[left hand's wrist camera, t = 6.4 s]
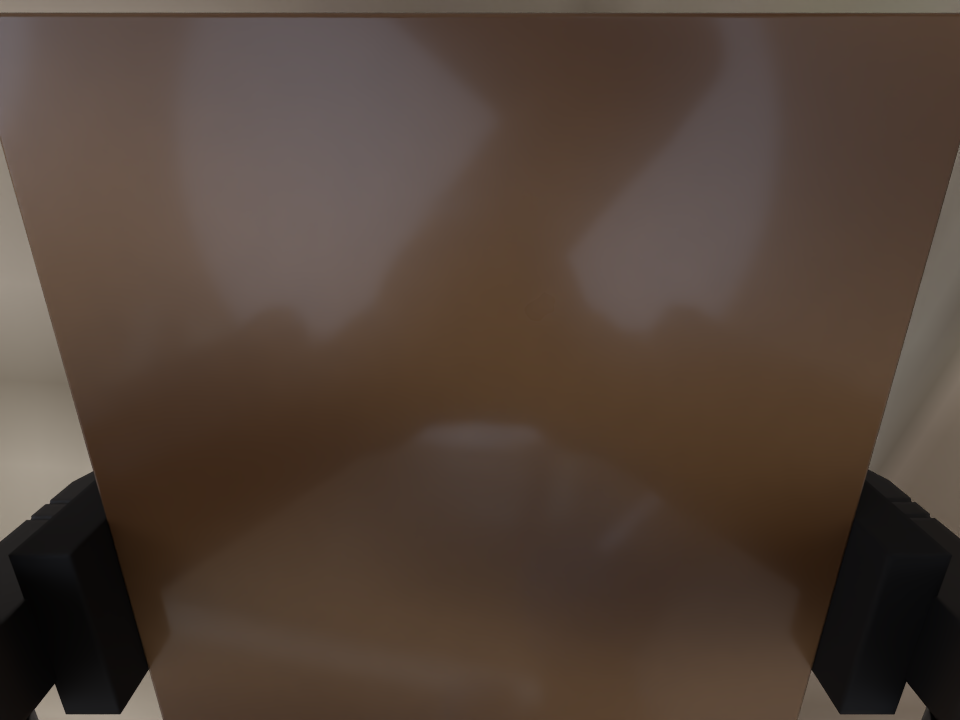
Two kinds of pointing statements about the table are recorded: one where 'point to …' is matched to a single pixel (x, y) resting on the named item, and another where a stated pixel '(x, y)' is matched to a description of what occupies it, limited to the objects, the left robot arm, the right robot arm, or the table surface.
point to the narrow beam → (480, 340)
